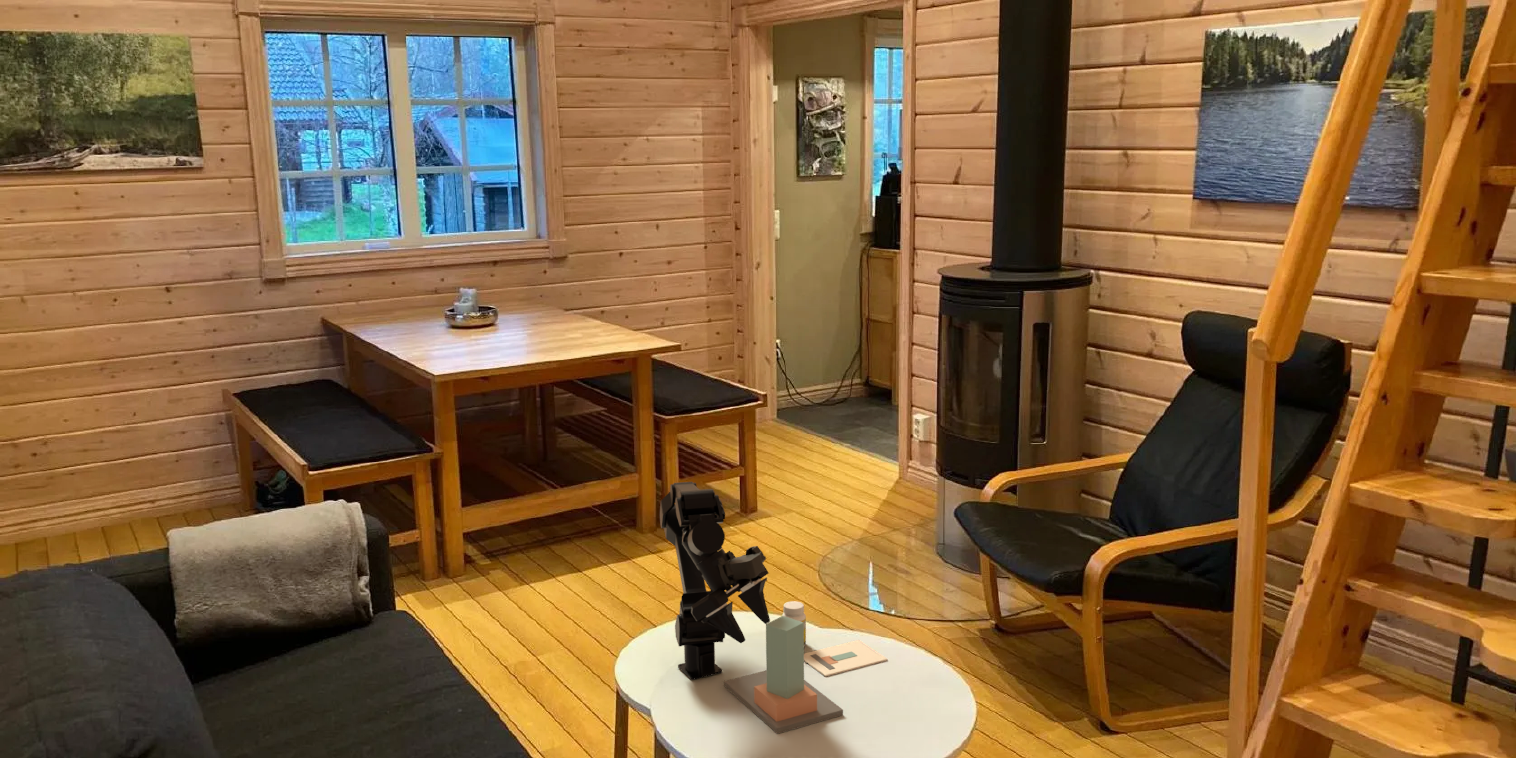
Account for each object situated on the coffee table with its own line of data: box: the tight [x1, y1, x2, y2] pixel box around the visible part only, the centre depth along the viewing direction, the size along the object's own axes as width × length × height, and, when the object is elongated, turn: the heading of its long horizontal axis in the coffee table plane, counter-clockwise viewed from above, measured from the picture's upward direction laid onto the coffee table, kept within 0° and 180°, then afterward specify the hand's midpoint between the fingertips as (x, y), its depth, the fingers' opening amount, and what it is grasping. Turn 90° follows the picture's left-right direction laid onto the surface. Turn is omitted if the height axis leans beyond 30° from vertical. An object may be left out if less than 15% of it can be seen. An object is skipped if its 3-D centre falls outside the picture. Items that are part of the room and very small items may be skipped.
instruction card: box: [804, 639, 888, 677], centre depth 220 cm, size 10×14×1 cm
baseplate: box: [723, 669, 844, 734], centre depth 204 cm, size 20×13×4 cm, turn 28°
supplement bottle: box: [781, 600, 807, 647], centre depth 226 cm, size 5×5×8 cm
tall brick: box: [765, 615, 805, 699], centre depth 198 cm, size 5×5×12 cm
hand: (755, 632), depth 204 cm, fingers open, 9 cm apart
